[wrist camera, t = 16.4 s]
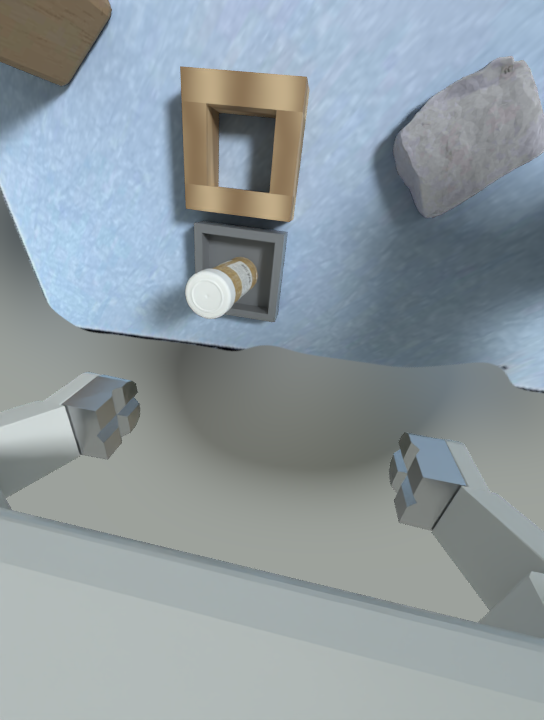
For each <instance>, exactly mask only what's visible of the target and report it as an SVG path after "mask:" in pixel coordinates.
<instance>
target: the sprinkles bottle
mask: <svg viewBox="0 0 544 720" xmlns="http://www.w3.org/2000/svg"><path fill="white" fill-rule="evenodd" d="M257 278H258V274H257V270H256V267H255V265H254V264H253V262H252V261H250V260H249V259H247V258H244V257H236V258H234V259H232V260H230V261H227V262H224V263H222V264H220V265H218V266H216V267H214V268H212V269H204V270H202V271H199V272H197V273H196V274H194V275H193V276H192V277H191V278H190V279H189V280H188V282H187V285H186V289H185V295H186V300H187V303H188V305H189V306H190V308H191V309H192V310H193V311H194V312H195V313H196V314H198V315H199V316H201V317H204V318H207V319H214V318H218V317H220V316H222V315H224V314H225V313H226V312H227V311H228V310H229V309H230V308H231V307H232V306H233V304H234V303H235V302H237V301H238V300H239V299H240V298H241V297H242V296H243V295H244V294H246V293H247V292H248V291H249V290H250V289H252V288H253V287H254V285H255V284H256V282H257Z"/></svg>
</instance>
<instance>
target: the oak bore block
mask: <svg viewBox="0 0 544 720" xmlns="http://www.w3.org/2000/svg"><path fill="white" fill-rule="evenodd" d="M180 71H181V97H182V123H183V148H184V174H185V200H186V209H193V210H200V211H208V212H216V213H224V214H231V215H239V216H247V217H255V218H262V219H270V220H278V221H286V222H290V221H291V220H293V217H294V209H295V201H296V193H297V185H298V177H299V169H300V161H301V153H302V145H303V137H304V129H305V121H306V113H307V105H308V97H309V86H308V80H307V77H302V76H290V75H278V74H266V73H254V72H241V71H229V70H217V69H205V68H192V67H180ZM219 113H227V114H237V115H247V116H258V117H268V118H276V123H275V134H274V146H273V158H272V169H271V181H270V193H267V192H259V191H250V190H242V189H234V188H225V187H218V179H219Z"/></svg>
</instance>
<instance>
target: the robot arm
mask: <svg viewBox="0 0 544 720" xmlns="http://www.w3.org/2000/svg"><path fill="white" fill-rule="evenodd" d="M136 394H137V387H136V383H134V382H133V381H130V380H125V379H121V378H116V377H112V376H107V375H101V374H96V373H92V372H85V373H82V374H80V375H79V376H78V377H76V378H75V379H73V380H72V381H71V382H69V383H68V384H67V385H65V386H64V387H62V388H61V389H59V390H58V391H57V392H55V393H54V394H52V395H51V396H50V397H48V398H47V399H45V400H44V401H34V402H31V403H28V404H24V405H21V406H18V407H15V408H11V409H8V410H5V411H1V412H0V720H544V531H542V530H541V529H540V528H539V527H538V526H536V525H535V524H534V523H533V522H531V521H530V520H529V519H528V518H527V517H525V516H524V515H523V514H522V513H521V512H519V511H518V510H517V509H516V508H514V507H513V506H512V505H511V504H509V503H508V502H507V501H506V500H505V499H504V498H502V497H501V496H500V495H499V494H497V493H495V492H490V490H489V488H488V486H487V485H486V483H485V481H484V479H483V477H482V475H481V473H480V472H479V470H478V468H477V466H476V465H475V463H474V461H473V459H472V457H471V455H470V453H469V452H468V450H467V448H466V446H465V445H464V444H463V443H462V442H459V441H452V440H447V439H438V438H432V437H427V436H421V435H416V434H411V433H404V434H403V435H402V436H401V438H400V440H399V446H400V450H399V451H397V452H395V453H394V454H393V457H392V459H391V462H390V468H389V478H390V484H391V487H392V488H393V489H394V490H395V491H396V493H397V495H396V497H395V499H394V503H395V508H396V512H397V517H398V521H399V523H403V524H407V525H410V526H414V527H419V528H422V529H427V530H431V531H432V533H433V535H434V536H435V538H436V539H437V540H438V542H439V543H440V544H441V546H442V547H443V548H444V550H445V551H446V552H447V554H448V555H449V557H450V558H451V559H452V561H453V562H454V563H455V565H456V566H457V567H458V569H459V570H460V571H461V573H462V574H463V575H464V577H465V578H466V579H467V581H468V582H469V583H470V585H471V586H472V587H473V589H474V590H475V591H476V593H477V594H478V595H479V597H480V598H481V599H482V601H483V602H484V604H485V605H486V606H487V608H488V609H489V610H490V611H489V612H488V613H487V614H486V615H485V616H484V617H483V618H482V619H481V620H480V621H479V622H478V623H477V622H473V621H469V620H464V619H461V618H457V617H452V616H448V615H444V614H440V613H436V612H432V611H427V610H423V609H419V608H415V607H411V606H407V605H403V604H399V603H394V602H390V601H386V600H382V599H378V598H373V597H370V596H365V595H361V594H357V593H353V592H349V591H345V590H340V589H336V588H332V587H328V586H324V585H320V584H316V583H311V582H307V581H303V580H299V579H295V578H291V577H287V576H283V575H279V574H274V573H270V572H266V571H262V570H257V569H253V568H250V567H245V566H241V565H237V564H233V563H229V562H225V561H221V560H216V559H212V558H208V557H204V556H200V555H195V554H191V553H187V552H183V551H179V550H174V549H171V548H166V547H162V546H158V545H154V544H150V543H146V542H141V541H137V540H133V539H129V538H125V537H121V536H117V535H112V534H108V533H104V532H100V531H96V530H92V529H87V528H83V527H79V526H75V525H71V524H67V523H63V522H59V521H54V520H50V519H46V518H42V517H38V516H34V515H30V514H26V513H21V512H17V511H13V510H12V509H11V507H10V505H9V504H8V502H7V500H6V498H7V497H9V496H11V495H12V494H14V493H16V492H18V491H19V490H21V489H23V488H25V487H26V486H28V485H30V484H32V483H34V482H35V481H37V480H39V479H41V478H42V477H44V476H46V475H48V474H49V473H51V472H53V471H55V470H57V469H58V468H60V467H62V466H64V465H65V464H67V463H69V462H71V461H72V460H74V459H76V458H78V457H80V455H85V456H91V457H96V458H102V459H109V458H110V456H111V455H112V454H113V453H114V452H115V450H116V449H117V448H118V447H119V446H120V444H121V443H122V439H121V437H122V436H124V435H126V434H129V433H130V432H131V431H132V430H133V429H134V428H135V426H136V424H137V422H138V419H139V417H140V405H139V403H138V401H137V400H136V399H135V398H134V396H135V395H136Z"/></svg>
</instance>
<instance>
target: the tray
mask: <svg viewBox="0 0 544 720" xmlns="http://www.w3.org/2000/svg"><path fill="white" fill-rule="evenodd" d="M287 233H288V232H284V231H277V230H269V229H261V228H254V227H246V226H239V225H231V224H224V223H216V222H208V221H200V222H195V223H194V246H195V274H196V273H197V272H199V271H202V270H204V269H212V268H214V267H216V266H218V265H220V264H222V263H224V262H227V261H230V260H232V259H234V258H236V257H244V258H247V259H249V260H250V261H252V262H253V264H254V265H255V267H256V270H257V274H258V278H257V282H256V284H255V285H254V287H253V288H252V289H250V290H249V291H248V292H247V293H246V294H244V295H243V296H242V297H241V298H240V299H239V300H238V301H237V302H235V303H234V304H233V306H232V307H231V308H230V309H229V310H228V311H227V312H226V313H225V314H226V315H232V316H238V317H245V318H251V319H257V320H263V321H269V322H275V320H276V318H277V315H278V308H279V300H280V292H281V283H282V275H283V266H284V258H285V250H286V241H287Z"/></svg>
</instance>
